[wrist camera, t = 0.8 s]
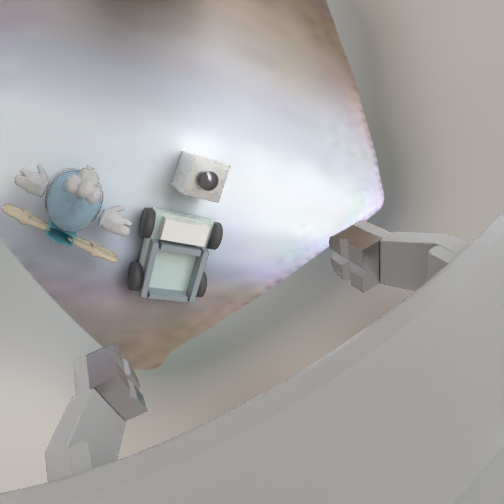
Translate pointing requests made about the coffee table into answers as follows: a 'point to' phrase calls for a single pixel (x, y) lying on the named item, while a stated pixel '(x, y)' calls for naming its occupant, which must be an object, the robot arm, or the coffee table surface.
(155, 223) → the chassis
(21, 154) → the coffee table surface
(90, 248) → the toy figure
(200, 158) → the cube with round knob
